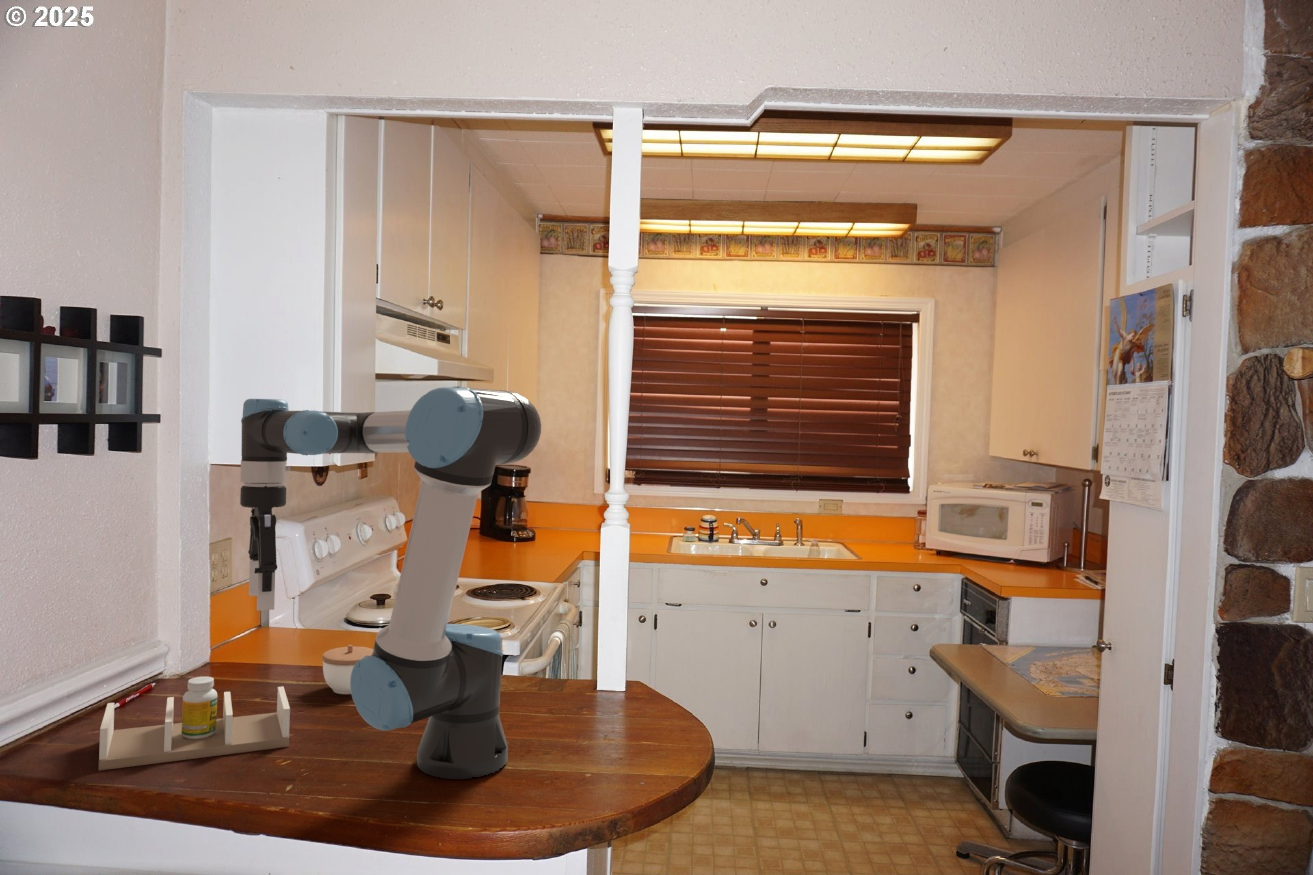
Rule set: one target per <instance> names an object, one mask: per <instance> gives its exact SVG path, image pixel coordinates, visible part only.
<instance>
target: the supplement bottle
mask: <svg viewBox="0 0 1313 875" xmlns="http://www.w3.org/2000/svg"><path fill="white" fill-rule="evenodd" d="M214 686H215V679H214V677H211V676H197V677H192V678H190V679H188V680H187V687H186V688H187V691H186V692H185V693H184V694H183V696H182V711H181V712H182V714H181V723H182V736H183V737H184V738H186V739H203V738H207V737H210V736H212V735H213V734H214V733H215V732H216V720H217V719H218V717H217V716H218V715H217V714H218V692H217V691H216V689H214V688H213V687H214Z"/></svg>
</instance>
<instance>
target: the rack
mask: <svg viewBox="0 0 1313 875" xmlns="http://www.w3.org/2000/svg"><path fill="white" fill-rule="evenodd" d="M284 687H285V686H277V697H276V698H277V700H276V712H269V713H260V714H259V713H258V714H251V715H242V716H233V713H234V712H233V706H232V705H233V704H232V695H231V691H224V692H223V713H222V718H217V720H216V732H215V733H214V734H213V735H212V736H210V737H207V738H203V739H186V738H184V737H183V736H182V722H178V723H177V722H176V723H174V709H175V708H174V705H175V703H174V702H175V696H169V697H167V699H166V706H165V707H166V708H165V718H164V724H159V725H157V724H156V725H150V726H142V727H141V726H140V727H130V728H123V729H115V728H114V727H115V724H114V723H115V702H108V703H107V704H106V707H105V712H104V715H103V718H102V720H101V721H102V722H101V725H100V728H99V751H98V752H99V754H98V755H99V757H98V771H105V770H113V769H123V768H129V767H135V766H136V767H137V766H145V765H152V764H161V763H169V762H176V761H177V762H179V761H183V760H186V761H187V760H192V759H193V760H194V759H199V758H200V759H201V758H207V757H208V758H210V757H217V756H224V755H233V754H241V753H249V752H257V751H264V750H272V749H279V748H287V747H290V721H291V720H290V718H291V717H290V716H291V707H290V703H289V700H288V696H287V694H286V691H285V688H284Z"/></svg>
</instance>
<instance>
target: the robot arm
mask: <svg viewBox="0 0 1313 875" xmlns="http://www.w3.org/2000/svg"><path fill="white" fill-rule="evenodd" d="M288 403H289V402H288V401H287V400H285V399H278V398H277V399H274V398H248V399H245V400H244V402H243V406H242V407H243V408H242V417H241V420H240V422H241V460H240V479H239V480H240V482H241V483H243V485H242V486H241V487H240V497H239V498H240V499H239V500H240V501H239V505H240V506H241V507H243V508H248V509H249V508H250V509H251V510H250V513H251V516H249V524H250V529H249V530H250V531H249V532H250V535H249V537H250V538H249V548H248V550H247V551H248V552H247V553H248V555H249V556H248V558H249V571H248V572H249V574H248V575H249V576H248V581H249V582H248V583H249V584H248V596H249V597H256V611H257V612H258V611H272V610H273V611H274V610H275V599H276V597H275V592H276V590H275V589H276V571H277V569H278V565H277V563H278V562H277V543H276V542H277V541H276V540H277V538H276V527H277V516H276V514H273V508H282V507H284V506H286V505H287V504H286V503H287V487H286V485H283V484H285V483H286V482H287V473H286V472H290V471H291V467H290V466H289V465H287V464H288V462H287V461H288V454H296V455H297V454H298V455H301V456H302V455H303V456H317V455H323V454H324V455H325V454H326V455H327V454H379V453H381V454H384V453H387V454H388V453H409V455H410V456H411V457H412V459H413V460H414V461H415V463H414V466H413V470H414V471H415V472H416V474H417V476H418V477H419V479H420V480H421V483H420V487H419V492H418V495H417V501H416V505H415V509H414V513H413V517H412V522H411V523H412V524H411V527H410V531H409V536H408V540H407V544H406V545H407V546H406V549H405V554H404V558H403V562H402V567H401V571H400V576H399V580H398V585H397V589H396V594H395V598H394V603H393V606H392V611H391V615H390V620H389V624H388V625H387V626H385V627H383V628H381V629H380V630H378V632H377V634H376V636H375V640H374V645H373V648H372V649H373V653H372V655H371V656H365V657H363V658H362V659H361V660H360V661H358V662H357V663H356V664H355V665H354V667H353V669H352V672H351V677H350V688H351V694H350V695H351V698H352V701H353V703H354V705H355V708H356V711H357V712H358V714H359V715H360V716H361V718H362V719H363V720H364V722H366V723H367V724H368V725H369V726H371V727H372V728H374V729H376V730H379V731H383V732H385V731H387V732H388V731H393V730H395V729H396V730H397V729H399V728H407V727H408V726H410V725H411V724H413V723H417V722H419V721H423V720H425V719H427V718H428V721H427V723H426V726H425V729H424V731H423V735H422V736H421V739H420V743H419V745H418V748H417V752H416V753H417V754H416V755H417V756H416V765H417V768H418V769H419V771H421V772H423V773H424V774H427V775H429V776H432V777H435V778H439V777H440V778H441V779H446V780H467V779H468V778H469V779H473V778H472V777H477V778H480V777H481V776H482V777H485V776H484V775H486V776H489V775H491V774H490V773H492V774H494V773H496V772H495V771H497V772H498V771H500V770H501V769H500V768H502V767H503V766H504V765H505V764H507V763H508V759H509V758H508V756H509V754H508V753H509V747H508V743H507V738H506V735H505V733H504V728H503V725H502V722H501V717H500V706H501V704H500V703H501V686H502V684H501V683H502V669H503V668H502V667H503V666H502V665H503V656H504V653H503V638H502V636H501V634H500V633H499V631H496V630H494V629H493V628H490V627H485V626H480V625H474V624H465V623H463V624H461V623H449V619H450V614H451V611H452V606H453V602H454V598H455V594H456V590H457V585H458V581H459V578H460V576H459V575H460V573H461V568H462V565H463V564H462V563H463V559H464V556H465V551H466V546H467V543H468V538H469V534H470V530H471V526H472V521H473V518H474V513H475V509H476V505H477V501H478V500H477V499H478V496H479V493H480V492H481V491H483V490H485V489H486V488H488V487H490V486H491V484H492V480H493V476H494V473H495V468H496V466H497V465H508V464H513V463H517V462H520V461H522V460H524V459H525V458H527V457H528V456H529V455H530V454H531V453H532V452H533V451H534V450H535V448H536V447H537V445H538V443H539V441H540V438H541V433H542V422H541V417H540V414H539V412H538V409H537V408H536V407H535V405H534V404H533V403H532V402H531V401H530V400H529V399H528V398H526V397H525V396H524V395H521V394H519V393H517V392H513V391H511V390H495V389H485V388H476V387H475V388H474V387H465V386H460V385H458V386H451V387H446V386H445V387H436V388H435V389H432V390H429V391H428V392H426V393H425V394H423V395H422V396H420V398H419V399H417V401H416V402H415V403H414V405H413V407H412V408H411V409H409V410H408V409H407V410H391V411H371V412H342V411H341V412H340V411H321V410H320V411H318V410H308V409H306V410H305V409H303V410H290V409H289V404H288ZM506 762H507V763H506ZM505 766H506V765H505ZM505 766H504V767H505ZM504 767H503V768H504ZM503 768H502V769H503ZM499 769H500V770H499ZM488 774H489V775H488ZM469 779H468V780H469Z"/></svg>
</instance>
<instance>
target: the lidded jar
mask: <svg viewBox="0 0 1313 875" xmlns="http://www.w3.org/2000/svg"><path fill="white" fill-rule="evenodd" d="M373 649H374V648H370V647H367V646H354V645H353V644H348V645H347V646H343V647H342V646H341V647H335V648H332V649H327V651H325V652H323V653H322V672H323V677H324V678H323V679H324V681H325V683H326V684H327V685H328V686H329V688H331V689H332V691H333V693H335V694H339V695H352V694H351V688H350V677H351V672H352V669H353V667H354V665H355V664H356V663H357V662H358V661H360V660H361V659H362V658H363V657H365V656H371V655H372V653H373Z"/></svg>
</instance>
